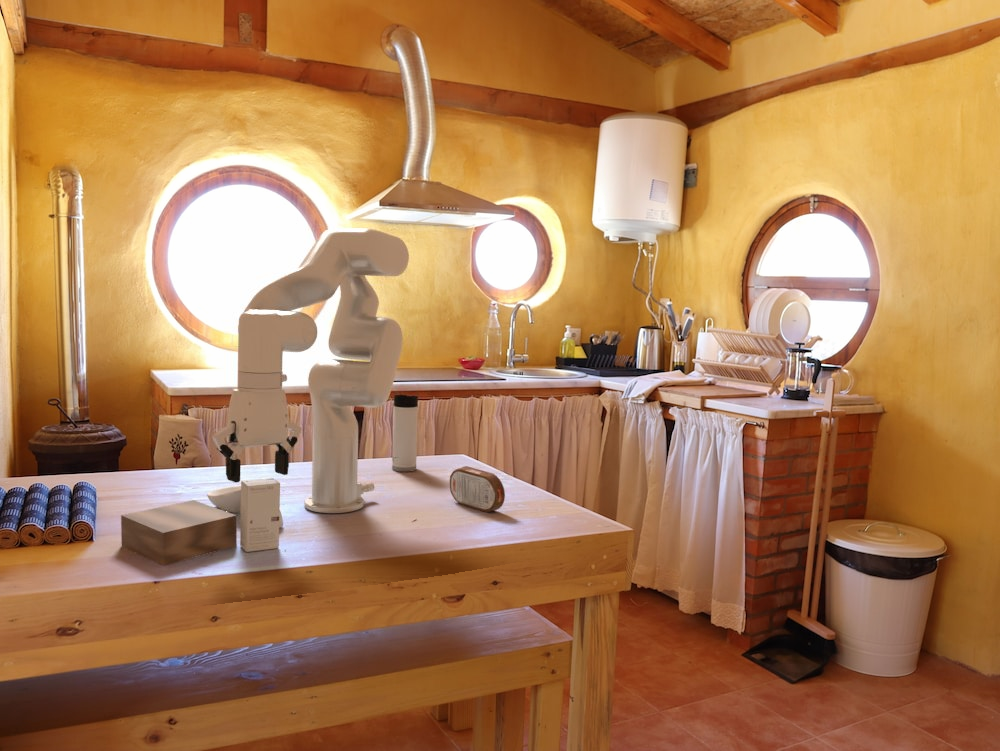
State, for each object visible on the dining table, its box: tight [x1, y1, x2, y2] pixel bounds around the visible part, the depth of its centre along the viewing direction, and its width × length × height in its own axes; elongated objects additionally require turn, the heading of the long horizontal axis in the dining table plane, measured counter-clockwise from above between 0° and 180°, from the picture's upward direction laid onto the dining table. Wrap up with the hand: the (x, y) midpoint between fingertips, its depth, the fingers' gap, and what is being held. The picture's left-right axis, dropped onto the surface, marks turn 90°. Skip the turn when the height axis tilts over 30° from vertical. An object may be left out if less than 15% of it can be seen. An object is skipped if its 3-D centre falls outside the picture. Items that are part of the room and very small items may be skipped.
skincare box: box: [239, 478, 281, 553], centre depth 143 cm, size 6×4×12 cm
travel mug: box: [391, 394, 419, 473], centre depth 206 cm, size 6×7×20 cm
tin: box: [449, 465, 506, 513], centre depth 174 cm, size 15×3×8 cm, turn 47°
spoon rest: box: [206, 485, 284, 529], centre depth 162 cm, size 24×12×7 cm, turn 41°
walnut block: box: [120, 499, 238, 566], centre depth 142 cm, size 14×14×6 cm
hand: (258, 477), depth 142 cm, fingers open, 9 cm apart
